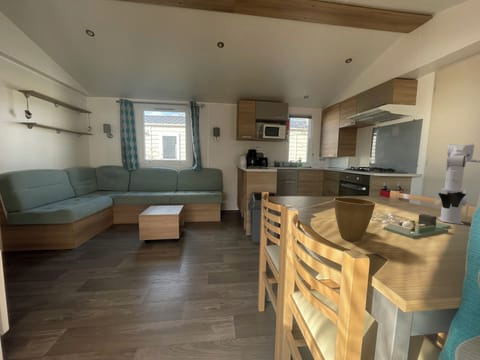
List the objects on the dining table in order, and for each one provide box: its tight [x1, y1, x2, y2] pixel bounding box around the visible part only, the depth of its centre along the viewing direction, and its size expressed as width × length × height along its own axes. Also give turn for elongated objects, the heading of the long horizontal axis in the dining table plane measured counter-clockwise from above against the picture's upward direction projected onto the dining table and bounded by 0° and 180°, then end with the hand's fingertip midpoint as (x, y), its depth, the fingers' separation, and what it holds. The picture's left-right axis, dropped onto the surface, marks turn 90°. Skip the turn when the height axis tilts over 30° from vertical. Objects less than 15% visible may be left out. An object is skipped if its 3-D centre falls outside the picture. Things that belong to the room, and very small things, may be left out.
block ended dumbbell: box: [408, 213, 438, 230], centre depth 96 cm, size 14×5×5 cm, turn 111°
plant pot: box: [333, 196, 376, 242], centre depth 84 cm, size 15×15×16 cm
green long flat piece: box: [383, 220, 452, 239], centre depth 97 cm, size 36×12×3 cm, turn 111°
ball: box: [402, 220, 413, 229], centre depth 93 cm, size 4×4×4 cm
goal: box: [387, 218, 420, 235], centre depth 92 cm, size 6×9×4 cm
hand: (450, 207), depth 100 cm, fingers open, 7 cm apart
